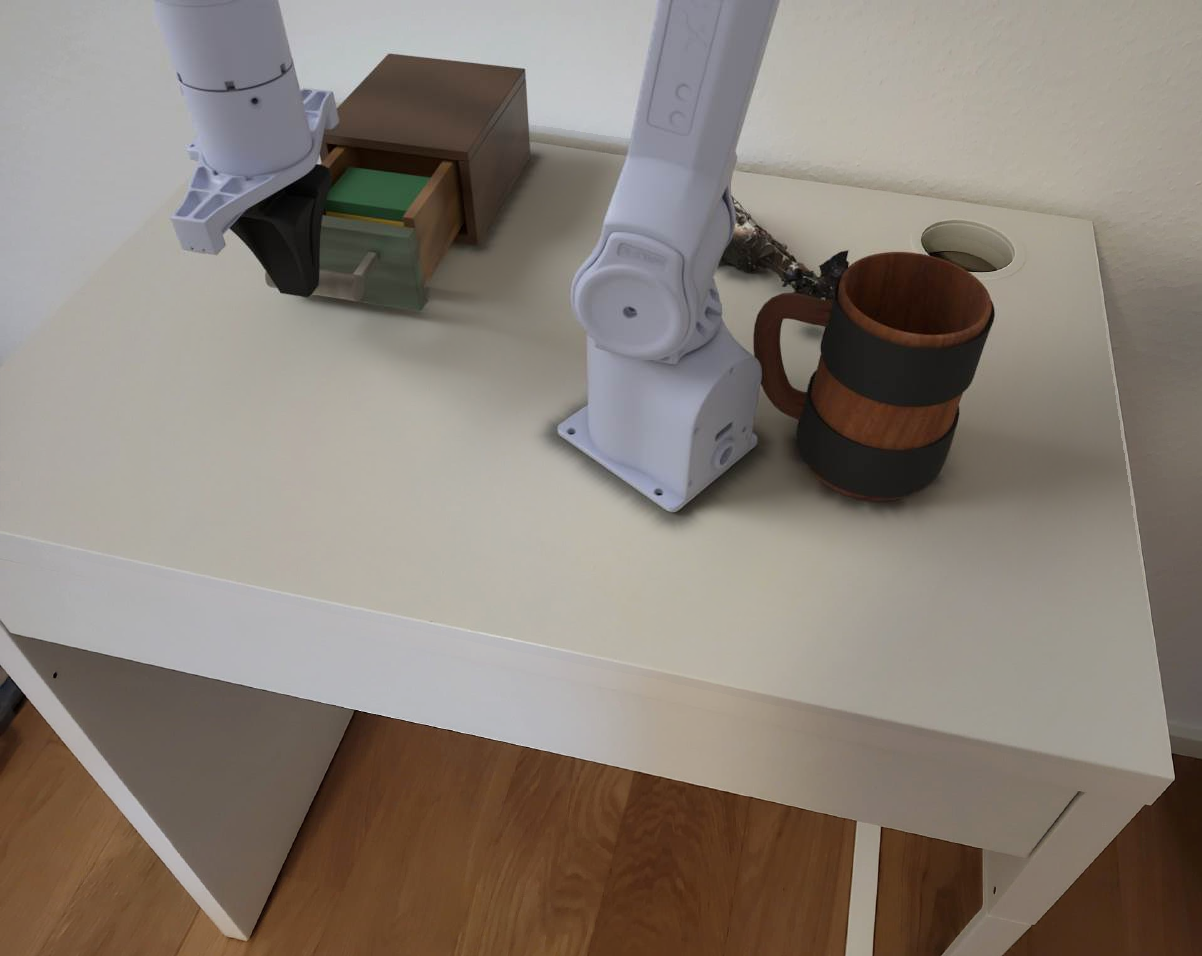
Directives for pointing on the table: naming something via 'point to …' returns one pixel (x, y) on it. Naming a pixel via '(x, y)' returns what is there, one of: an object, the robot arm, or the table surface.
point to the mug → (880, 371)
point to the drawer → (390, 233)
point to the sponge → (373, 195)
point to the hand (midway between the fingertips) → (299, 288)
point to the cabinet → (444, 125)
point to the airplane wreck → (780, 259)
